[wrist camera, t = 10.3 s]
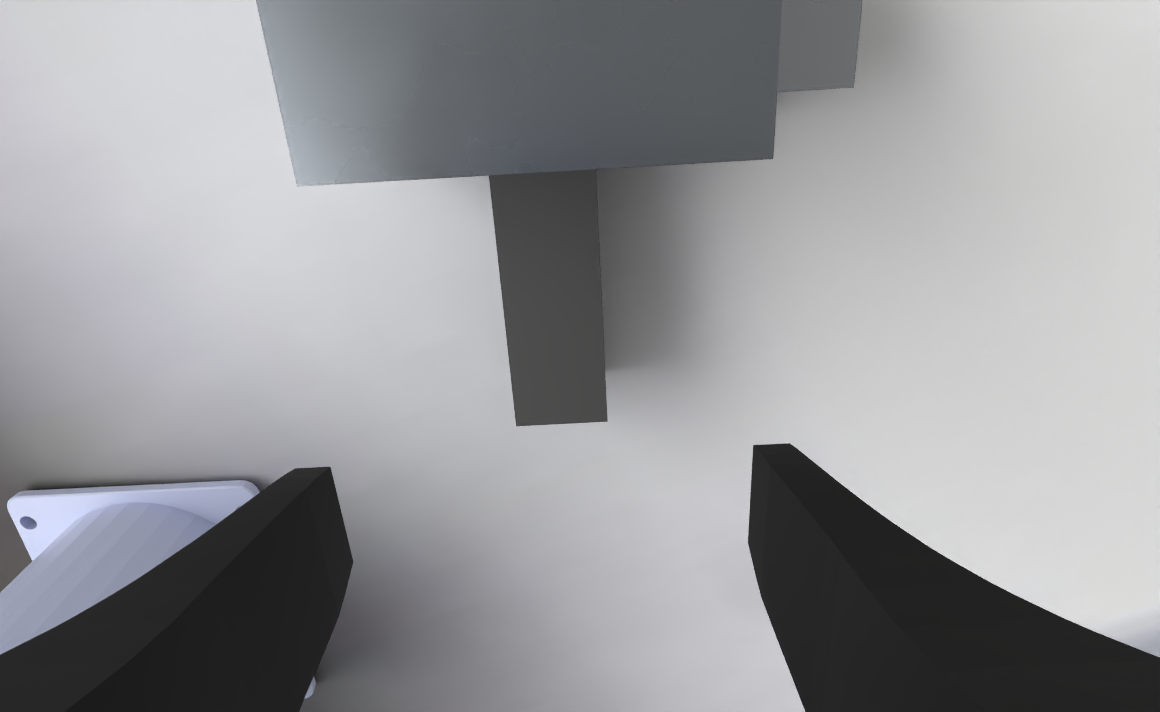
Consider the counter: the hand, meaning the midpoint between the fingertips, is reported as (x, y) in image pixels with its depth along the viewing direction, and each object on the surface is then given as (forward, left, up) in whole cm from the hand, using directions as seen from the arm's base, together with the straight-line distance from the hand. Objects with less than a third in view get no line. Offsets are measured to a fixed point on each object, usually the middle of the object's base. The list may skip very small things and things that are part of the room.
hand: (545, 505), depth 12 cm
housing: (+8, 0, -9) cm, 12 cm away
